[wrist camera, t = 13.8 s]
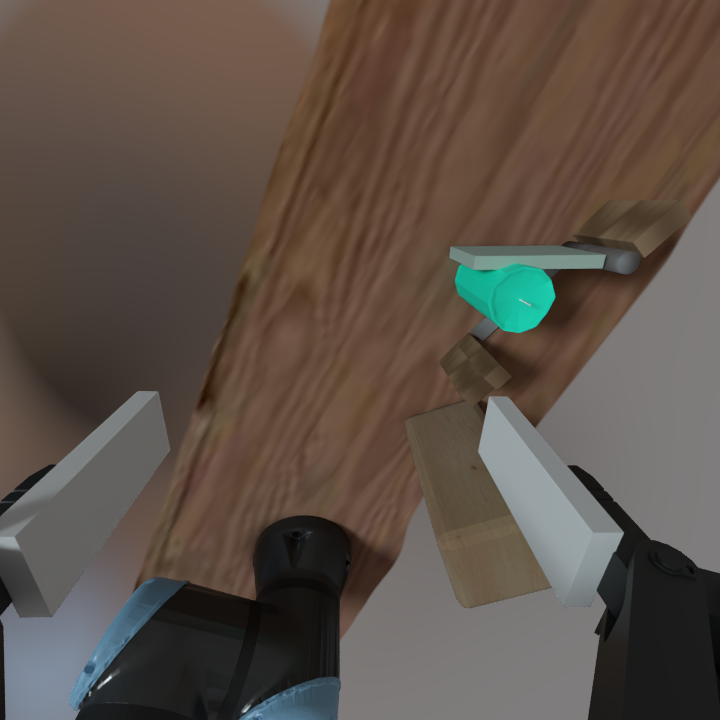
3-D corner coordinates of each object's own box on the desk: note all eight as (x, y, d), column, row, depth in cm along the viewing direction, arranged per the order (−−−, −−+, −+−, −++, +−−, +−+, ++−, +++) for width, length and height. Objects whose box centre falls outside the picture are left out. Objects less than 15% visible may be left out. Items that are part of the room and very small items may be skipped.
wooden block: (473, 394, 48) (555, 513, 29) (487, 452, 51) (567, 589, 33) (401, 416, 48) (437, 545, 30) (420, 471, 52) (461, 615, 34)
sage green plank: (557, 245, 40) (606, 254, 32) (555, 256, 40) (602, 268, 33) (450, 246, 39) (475, 256, 32) (449, 257, 40) (473, 269, 33)
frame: (449, 370, 46) (474, 409, 37) (439, 361, 45) (461, 398, 37) (618, 214, 39) (697, 217, 31) (608, 201, 39) (686, 200, 30)
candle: (470, 313, 43) (513, 351, 32) (445, 272, 41) (482, 297, 30) (515, 284, 42) (576, 313, 31) (492, 240, 40) (548, 254, 29)
